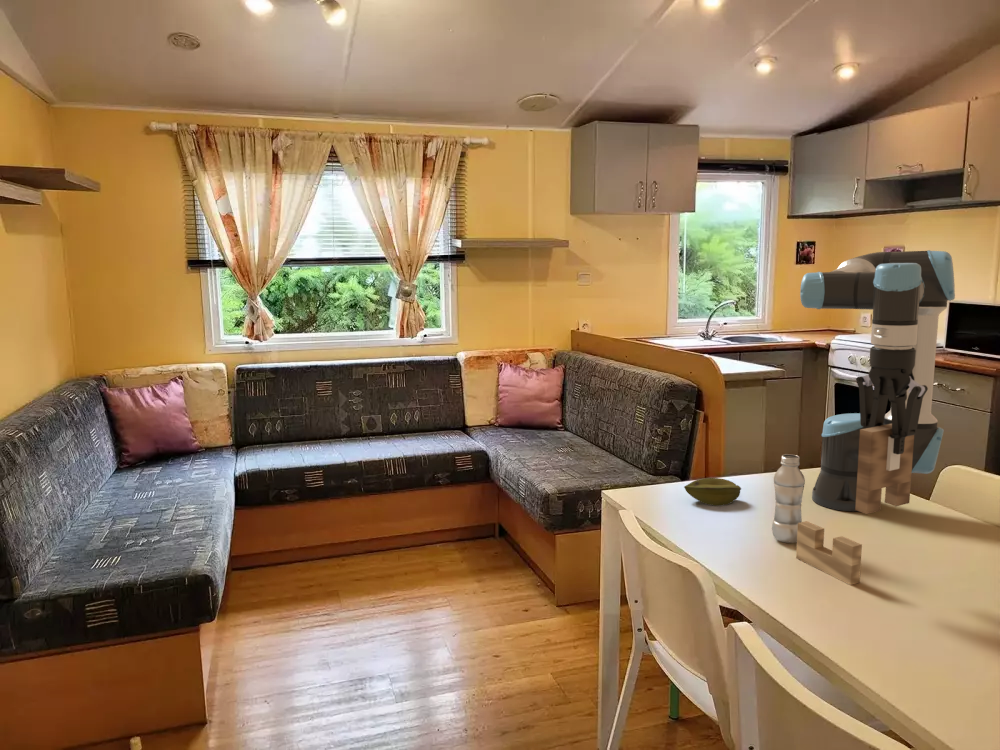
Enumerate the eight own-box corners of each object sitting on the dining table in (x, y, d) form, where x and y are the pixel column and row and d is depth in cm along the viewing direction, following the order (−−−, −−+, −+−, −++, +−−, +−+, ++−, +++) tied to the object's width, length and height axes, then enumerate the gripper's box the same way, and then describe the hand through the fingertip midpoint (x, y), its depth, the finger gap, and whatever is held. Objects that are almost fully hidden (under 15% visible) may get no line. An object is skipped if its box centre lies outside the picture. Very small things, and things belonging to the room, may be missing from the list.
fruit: (724, 513, 180) (725, 488, 179) (682, 502, 189) (682, 478, 187) (744, 501, 189) (745, 477, 187) (702, 491, 197) (703, 468, 196)
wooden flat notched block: (897, 499, 141) (903, 421, 138) (909, 503, 139) (915, 424, 136) (855, 509, 136) (860, 429, 134) (866, 514, 134) (871, 432, 131)
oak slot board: (804, 556, 154) (806, 521, 152) (859, 582, 141) (861, 544, 139) (796, 558, 153) (797, 522, 151) (850, 585, 140) (852, 546, 139)
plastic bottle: (805, 547, 158) (809, 461, 155) (773, 545, 159) (777, 460, 156) (799, 536, 164) (803, 452, 161) (768, 534, 166) (772, 452, 162)
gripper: (843, 343, 138) (837, 459, 142) (919, 353, 124) (909, 481, 128) (870, 340, 141) (863, 454, 145) (947, 349, 127) (937, 475, 131)
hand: (885, 466), depth 136 cm, fingers closed on wooden flat notched block, 2 cm apart
